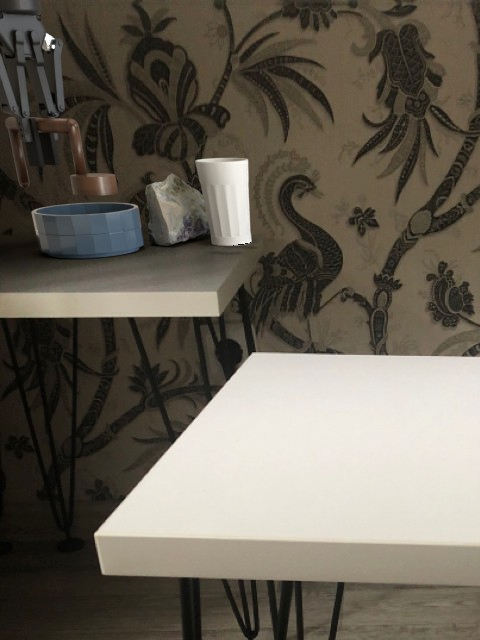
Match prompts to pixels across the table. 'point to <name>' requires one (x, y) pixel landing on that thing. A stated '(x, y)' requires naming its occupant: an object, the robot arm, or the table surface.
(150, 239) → the mineral rock
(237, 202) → the cup
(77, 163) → the bent rod with disc
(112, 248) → the bowl
